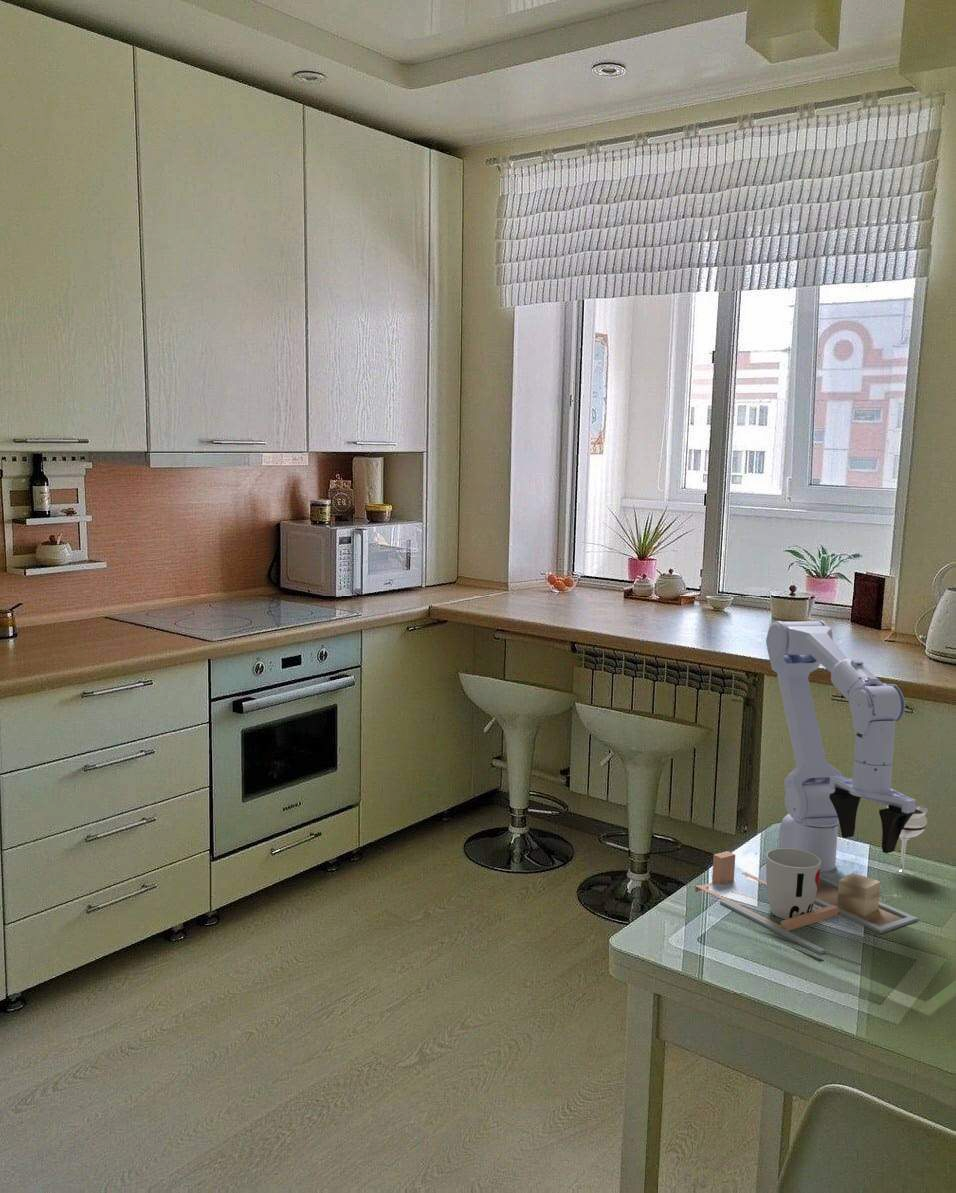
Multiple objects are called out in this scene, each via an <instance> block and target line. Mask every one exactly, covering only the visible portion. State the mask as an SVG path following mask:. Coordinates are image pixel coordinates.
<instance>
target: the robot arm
mask: <svg viewBox="0 0 956 1193" xmlns="http://www.w3.org/2000/svg"><path fill="white" fill-rule="evenodd" d="M833 639H834V638H833V629H832V628H831V627H830V626H829V625H828V623H827V622H826V621H824V620H820V619H819V620H816V621H815V620H814V621H813V620H810V621H809V620H808V621H806V620H805V621H804V620H803V621H782V620H776V621H772V623H771V625H770V627H768V631H767V635H766V639H765V643H766V644H765V645H766V649H767V653H768V658H769V659H768V660H769V663H770V666H771V667H770V668H771V670H772V671H773V672H775V673H776V676H777V680H778V685H779V689H780V694H781V695H780V696H781V700H782V705H783V709H784V713H785V714H784V715H785V719H786V724H787V729H788V732H789V737H790V744H791V747H792V752H793V757H794V761H795V766H796V767H795V768H794V769H792V770H791V772H789V773H788V774H787V776H786V777H785V779H784V781H783V783H784V794H785V795H784V804H785V809H786V811H787V812H788V813H787V814H786V815H785V816H784V817H783V818H782V820H781V823H780V824H779V829H778V844H777V845H778V846H777V849H780V848H789V849H798V850H803V851H806V852H809V853H812V854H814V855H816V856H817V857H819V858H820V860H821V867H820V873H821V872H823V873H824V872H830V871H833V870H835V868H836V861H837V860H836V858H837V847H838V833H839V832H838V830H839V828H840V831H841V832H840V834H841V837H842V838H844V839H847V838H851V837H854V834H855V830H856V821H857V812H858V810H859V809H858V808H859V804H860V802H861V799H866V800H868V801H872V802H874V803H875V802H876V803H878V804H881V805H884V806H886V805H887V806H889V807H888V808H887V806H886V807H885V808H881V809H879V810H878V814H879V816H880V817H879V818H880V821H881V829H882V830H881V832H882V834H881V836H882V837H881V851H882V853H885V854H890V853H893V852H895V851H896V846H897V843H898V841H899V839H900V838H899V836H900V834H901V831H902V829H903V828H904V826H905V824H906V823H907V821H908V820H909V819H910V817H911V816H912V815H913V812H915V804H916V802H917V800H916V798H915V799H914V798H912V797H909V796H907V795H905V794H903V793H901V792H899V791H898V790H896V789H894V788H892V778H893V762H894V748H895V735H896V734H895V732H896V722H898V721H900V720H901V719H902V718H903V716H904V714H905V710H906V701H905V696H904V695H903V693H902V690H901V689H900V688H899V687H898V685H897V684H893V683H888V684H887V683H886V682H884V683H883V682H882V681H881V680H880V679H879V678H878V677H877V676H875V674H873V672H871V670H870V669H868V668H867V666H865V664H864V662H863V661H862V660H861V659H860V658H848V657H847V656H846V655H845V653H844V652H843V651H842V650H841V649H840V647H839V646H838V645H837V643H836V642H835V641H834V640H833ZM820 665H822V667H824V668H825V669H826V670H827V671H828V672H830V673H831V675H830V681H831V684H832V685H833V686H834V688H836V690H838V691H839V693H840V694H841V695H842V696H843V697H845V699H846V700H847V702H848V704H849V711H850V714H851V716H852V729H853V731H854V732H855V738H854V750H853V752H854V753H853V754H854V755H853V767H852V768H853V770H852V778H849V777H846V776H843V773H842V772H841V771H839V770H838V769H837V768H835V767H834V766H833V765H831V764H830V763H828V761H827V757H826V754H825V748H824V744H823V739H822V736H821V730H820V726H819V720H818V718H817V717H818V716H817V713H816V707H815V704H814V698H813V695H812V694H813V693H812V690H811V685H810V680H809V676H810V673H812V672H814V671H816V670H817V669H818V668H819V667H820Z"/></svg>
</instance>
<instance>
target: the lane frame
mask: <svg viewBox="0 0 956 1193" xmlns="http://www.w3.org/2000/svg"><path fill="white" fill-rule="evenodd" d="M819 882H820V883H823V884H825V885H827V886H830V887H832V888H834V889H836V890H838V887H839V882H838V883H837V882H835V881H832V880H830V879H828V878H825V877H824V876H821V875H819ZM719 904H721V905H722V906H723V907H724V906H725V907H726V908H727V909H730V910H732V911H734V912H736V913H737V914H740V915H742V916H743V917H746V918H748V919H749V920H752V921H753V922H755V923H757V924H759V925H762V926H763V927H764V928H767V929H769V930H771V931H773V932H775V933H777V934H778V935H780V936H783V937H785V938H787V939H789V940H791V941H793V942H795V943H796V944H799V945H801V947H802V946H803V947H805V948H807V949H809V950H811V951H813V952H814V953H816V954H818V955H823V954H825V953H826V949H824V948H823V947H820V946H818V945H817V944H815V943H812V942H810V941H808V940H806V939H805V938H803V937H800V936H799V935H796V934H795V933H793V932H790V931H786V930H784V929H782V928H780V927H778V926H777V925H775V924H773V923H771V922H769V921H767V920H765V919H763V918H761V917H759V916H757V915H755V914H753V913H751V912H749V911H747V910H745V909H743V908H741V907H739V906H737V905H735V904H733V903H731V902H729V901H727V900H722V899H720V901H719ZM814 904H815V905H818V906H820V907H822V908H825V907H828V906H831V904H829V903H827V902H824V901H822V900H820V899H818V898H815V901H814ZM878 908H880V909H882V910H885V911H887V912H889V913H891V914H894V915H896V916H898V917H901V918H903V919H900V920H897V921H894V922H891V923H888V924H885V925H883V926H880V927H879V926H877V925H875V924H873V923H871V922H868V921H866V920H864V919H862V918H860V917H857V916H855V915H853V914H851V913H849V912H846V911H844V910H842V909H840V908H838V915H839V916H842V917H844V918H846V919H848V920H850V921H853V922H855V923H857V924H860V925H862V926H864V927H866V928H868V929H870V930H873V931H874V932H877V933H879V934H883V933H886V932H889V931H892V930H894V929H898V928H901V927H903V926H906V925H909V924H912V923H915V922H917V921H918V919H919V918H918V917H916V916H914V915H911V914H909V913H907V912H905V911H903V910H900V909H898V908H895V907H893V906H892V905H888V904H886V903H884V902H882V901H880V900H879V906H878ZM788 946H789V947H790V949H791V948H792V949H794V950H795V951H797V952H799V953H801V954H803V955H805V956H807V957H809V958H810V959H813V960H815V961H817V962H818V963H821V962H824V961H825V960H824V959H823V958H822V959H821V958H819V957H817V956H814V955H812V954H810V953H807V952H804V951H803V950H800V949H797V948H795V947H791V946H790V945H788Z"/></svg>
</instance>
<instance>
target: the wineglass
mask: <svg viewBox="0 0 956 1193" xmlns="http://www.w3.org/2000/svg"><path fill="white" fill-rule="evenodd" d="M885 806H886V808H888V807H889V806H887V805H885ZM927 813H928V808H926V807H925V806H924V805H920V804H918V803H917V804H916V803H915V812H913V815H912V816H911V817H910V819H909V820H908V821H907V823H906V824H905V826H904V828H903V829H902V831H901V834H900V836H899V838H898V839H900V840H901V852H900V857H901V858H900V868H893V871H898V872H901V873H903V874H906V875H907V874H908V875H910V876H913V873H914V872H912V871H909V870H906V869H904V866H905V865H904V864H905V858H906V856H905V855H906V848H907V841H909V840H910V838H915V837H918V836H920V834H921V833H923V832H924V831H925V830H926V828H927V826H928V818H927V817H926V814H927ZM911 872H912V873H911Z"/></svg>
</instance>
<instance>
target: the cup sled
mask: <svg viewBox="0 0 956 1193" xmlns="http://www.w3.org/2000/svg"><path fill="white" fill-rule="evenodd" d="M712 861H713V862H712V876H711V882H709V883H705V884H700V885H699V884H697V885H695V887H694V893H697V892H699V891H704V892H706V893H708V894H711V895H713V896H714V897H716V898H719V899H720V900H727V901H729V902H731V903H733V904H735V905H737V906H739V907H741V908H743V909H745V910H747V911H749V912H751V913H753V914H755V915H757V916H759V917H761V918H763V919H765V920H767V921H769V922H771V923H773V924H775V925H777V926H778V927H780V928H782V929H784V930H786V931H788V932H790V931H792V930H797V929H798V928H802V927H805V926H808V925H811V924H814V923H817V922H821V921H823V920H826V919H829V918H832V917H835V916H838V915H839V914H838V907H836V906H834V905H831V906H828V907H825V908H824V907H822V906H820V905H818V904H815V903H814V905H813V908H816V910H812V911H811V912H809V913H805V914H802V915H799V916H796V917H793V918H789V919H783V920H781V921H780V924H778V923H776V922H774V921H772V920H771V919H768V918H766V917H764V916H762V915H760V914H758V913H756V912H754V911H752V910H750V909H748V908H746V907H744V906H742V905H740V904H738V903H737V902H734V901H732V900H731V899H728V898H726V897H724V896H722V895H720V894H719V893H716V892H714V891H713V890H710V889H709V888H708V887H711V886H713V885H716V884H719V885H721V884H725V883H729V882H733V881H734V880H735V867H736V854H735V853H733V852H731V851H728V850H726V851H722V852H719V853H715V854H714V853H713V858H712ZM741 874H742V875H745V876H747V877H749V878H750V879H753V880H756V881H757V882H760V883H761V884H763V885H766V886H767V882H766V880H763V879H761V878H759V877H757V876H754V875H752V874H750V873H748V872H745V871H744V872H742V873H741Z"/></svg>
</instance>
